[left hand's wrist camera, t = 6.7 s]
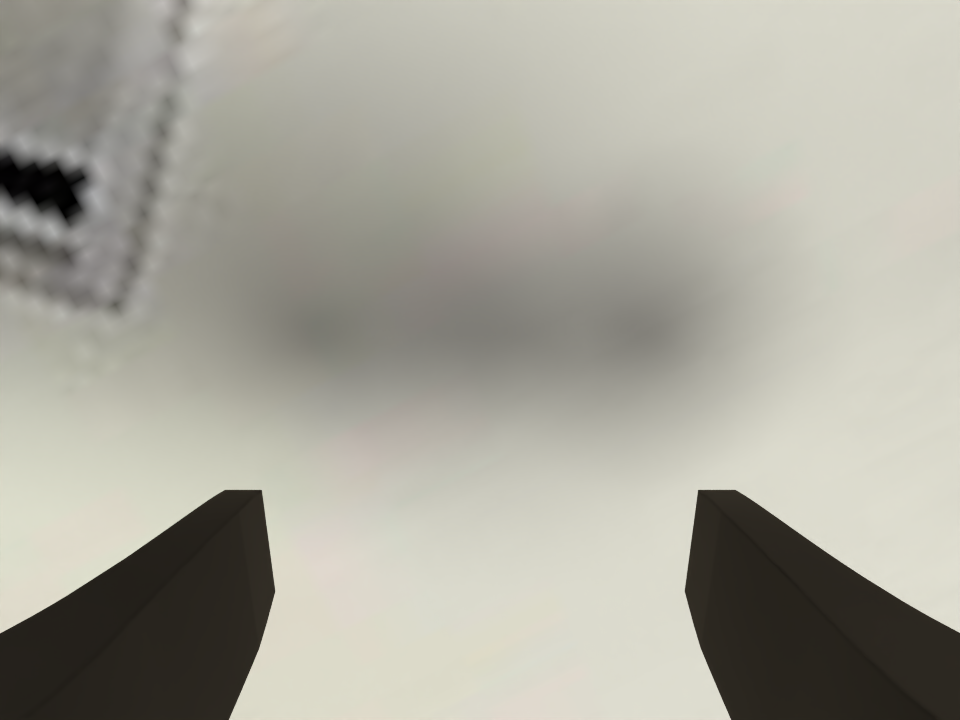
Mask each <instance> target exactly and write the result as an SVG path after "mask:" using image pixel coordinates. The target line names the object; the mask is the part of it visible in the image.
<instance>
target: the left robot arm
mask: <svg viewBox="0 0 960 720" xmlns="http://www.w3.org/2000/svg"><path fill="white" fill-rule="evenodd" d="M274 594H275V586H274V579H273V571H272V564H271V556H270V549H269V541H268V534H267V526H266V519H265V511H264V504H263V496H262V490H224V491H223V492H221V493H219V494H218V495H216V496H214V497H213V498H211V499H210V500H208V501H207V502H205V503H204V504H202V505H201V506H199V507H198V508H197V509H195V510H194V511H192V512H191V513H189V514H188V515H187V516H185V517H184V518H182V519H181V520H180V521H178V522H177V523H175V524H174V525H173V526H171V527H170V528H168V529H167V530H165V531H164V532H163V533H161V534H160V535H158V536H157V537H155V538H154V539H153V540H151V541H150V542H148V543H147V544H145V545H144V546H143V547H141V548H140V549H138V550H137V551H135V552H134V553H133V554H131V555H130V556H128V557H127V558H125V559H124V560H122V561H121V562H119V563H117V564H116V565H114V566H113V567H111V568H110V569H108V570H107V571H105V572H103V573H102V574H100V575H99V576H97V577H96V578H94V579H93V580H91V581H89V582H88V583H86V584H85V585H83V586H82V587H80V588H78V589H77V590H75V591H74V592H72V593H71V594H69V595H68V596H66V597H64V598H63V599H61V600H59V601H58V602H56V603H54V604H53V605H51V606H49V607H47V608H46V609H44V610H42V611H40V612H39V613H37V614H35V615H33V616H32V617H30V618H28V619H26V620H24V621H22V622H21V623H19V624H17V625H15V626H13V627H11V628H10V629H8V630H6V631H4V632H2V633H0V720H229V718H230V716H231V713H232V711H233V709H234V706H235V704H236V702H237V700H238V697H239V695H240V693H241V690H242V688H243V685H244V683H245V681H246V678H247V676H248V674H249V671H250V669H251V667H252V664H253V662H254V659H255V657H256V655H257V652H258V650H259V647H260V644H261V640H262V637H263V634H264V630H265V627H266V623H267V620H268V616H269V612H270V609H271V605H272V601H273V598H274ZM685 594H686V598H687V601H688V605H689V609H690V612H691V616H692V620H693V623H694V627H695V630H696V634H697V637H698V640H699V644H700V647H701V650H702V652H703V655H704V657H705V659H706V662H707V664H708V667H709V669H710V671H711V674H712V676H713V678H714V681H715V683H716V685H717V688H718V690H719V693H720V695H721V697H722V700H723V702H724V704H725V706H726V709H727V711H728V713H729V716H730V718H731V720H960V633H959V632H957V631H955V630H953V629H951V628H949V627H948V626H946V625H944V624H942V623H940V622H938V621H936V620H934V619H933V618H931V617H929V616H927V615H925V614H924V613H922V612H920V611H918V610H917V609H915V608H913V607H911V606H910V605H908V604H906V603H905V602H903V601H901V600H900V599H898V598H896V597H895V596H893V595H892V594H890V593H888V592H887V591H885V590H884V589H882V588H880V587H879V586H877V585H875V584H874V583H872V582H871V581H869V580H867V579H866V578H864V577H863V576H861V575H860V574H858V573H856V572H855V571H853V570H852V569H850V568H849V567H847V566H846V565H844V564H843V563H841V562H840V561H838V560H837V559H835V558H834V557H832V556H831V555H829V554H828V553H826V552H825V551H824V550H822V549H821V548H819V547H818V546H816V545H815V544H813V543H812V542H811V541H809V540H808V539H806V538H805V537H803V536H802V535H801V534H799V533H798V532H796V531H795V530H794V529H792V528H791V527H789V526H788V525H786V524H785V523H784V522H782V521H781V520H779V519H778V518H777V517H775V516H774V515H772V514H771V513H770V512H768V511H767V510H765V509H764V508H762V507H761V506H760V505H758V504H757V503H755V502H754V501H752V500H751V499H749V498H748V497H746V496H745V495H743V494H741V493H740V492H738V491H736V490H698V496H697V504H696V511H695V519H694V526H693V534H692V541H691V549H690V556H689V564H688V571H687V579H686V586H685Z"/></svg>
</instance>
